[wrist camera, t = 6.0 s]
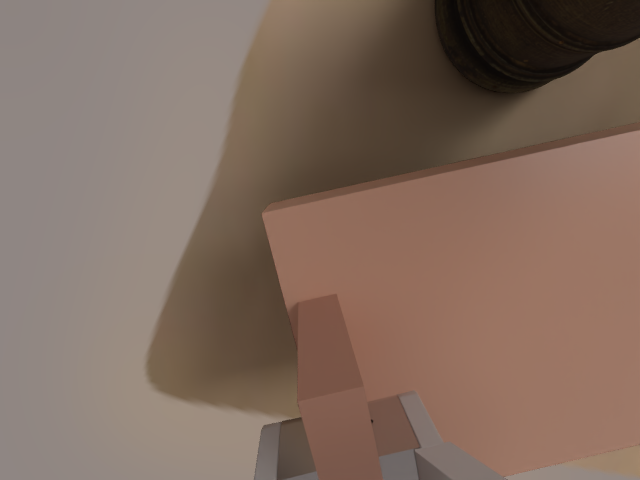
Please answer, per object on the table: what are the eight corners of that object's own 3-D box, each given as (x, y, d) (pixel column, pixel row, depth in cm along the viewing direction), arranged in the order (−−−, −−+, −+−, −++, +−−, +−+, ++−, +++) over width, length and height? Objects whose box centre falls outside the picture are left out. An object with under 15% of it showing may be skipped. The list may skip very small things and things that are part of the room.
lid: (664, 116, 11) (1152, 46, 5) (645, 380, 14) (934, 557, 8) (270, 203, 11) (228, 251, 4) (333, 453, 14) (362, 698, 7)
